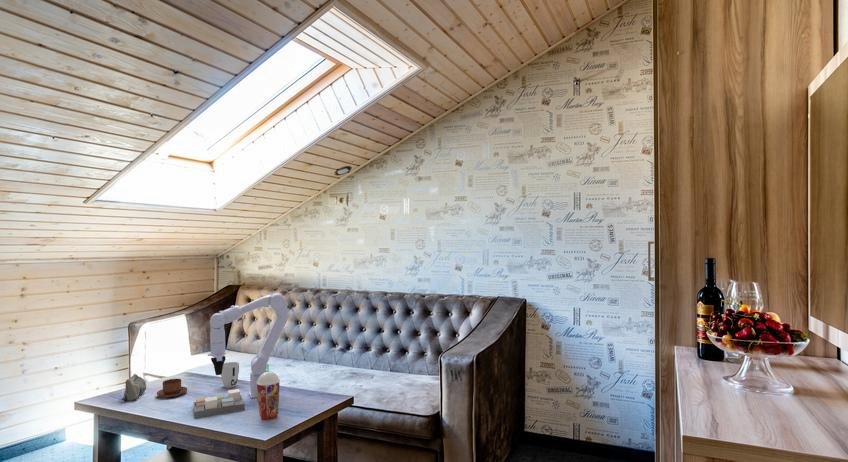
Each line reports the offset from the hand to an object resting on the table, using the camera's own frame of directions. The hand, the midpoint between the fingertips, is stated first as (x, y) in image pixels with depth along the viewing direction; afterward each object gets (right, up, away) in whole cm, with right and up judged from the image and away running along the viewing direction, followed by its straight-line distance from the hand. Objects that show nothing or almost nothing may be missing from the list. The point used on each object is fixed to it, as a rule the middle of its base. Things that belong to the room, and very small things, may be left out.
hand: (218, 374), depth 214 cm
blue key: (+9, -10, -13) cm, 19 cm away
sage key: (+4, -10, -9) cm, 14 cm away
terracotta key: (-2, -10, -12) cm, 16 cm away
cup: (-2, -11, +19) cm, 22 cm away
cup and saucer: (-23, -11, +8) cm, 27 cm away
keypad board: (+5, -10, -12) cm, 16 cm away
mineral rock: (-38, -12, +7) cm, 41 cm away
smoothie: (+28, -10, -23) cm, 38 cm away
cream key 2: (+9, -8, -7) cm, 14 cm away
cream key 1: (+4, -9, -16) cm, 19 cm away
